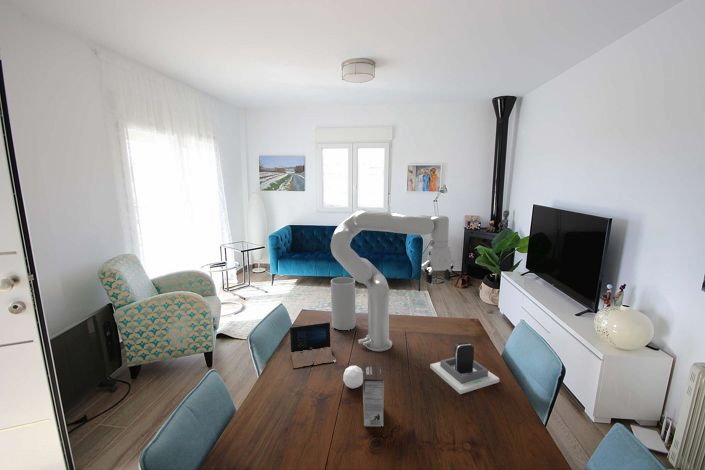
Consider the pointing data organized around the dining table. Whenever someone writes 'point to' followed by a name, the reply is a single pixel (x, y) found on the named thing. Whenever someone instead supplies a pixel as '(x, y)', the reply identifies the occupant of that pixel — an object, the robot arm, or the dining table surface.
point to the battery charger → (464, 357)
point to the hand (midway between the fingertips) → (438, 281)
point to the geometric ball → (353, 377)
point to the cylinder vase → (343, 303)
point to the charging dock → (464, 376)
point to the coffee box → (373, 394)
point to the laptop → (310, 337)
